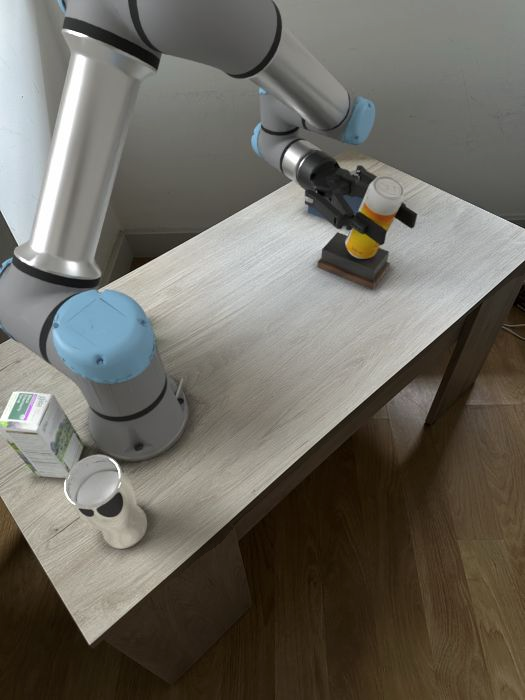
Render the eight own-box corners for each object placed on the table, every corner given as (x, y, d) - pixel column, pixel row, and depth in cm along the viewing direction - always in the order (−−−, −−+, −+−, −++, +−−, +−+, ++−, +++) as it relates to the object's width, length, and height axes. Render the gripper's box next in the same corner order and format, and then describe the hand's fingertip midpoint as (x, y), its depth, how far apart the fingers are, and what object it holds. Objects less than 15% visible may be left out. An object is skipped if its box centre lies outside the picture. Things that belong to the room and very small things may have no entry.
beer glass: (130, 492, 74) (100, 441, 62) (161, 525, 71) (135, 478, 59) (89, 527, 71) (50, 481, 60) (119, 563, 68) (84, 522, 56)
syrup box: (49, 442, 80) (10, 389, 68) (86, 445, 79) (53, 392, 68) (36, 476, 76) (-9, 427, 65) (74, 480, 76) (36, 430, 64)
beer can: (374, 264, 95) (405, 204, 82) (342, 256, 95) (369, 194, 82) (377, 241, 98) (407, 179, 86) (346, 232, 98) (372, 169, 86)
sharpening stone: (317, 267, 102) (318, 249, 98) (334, 247, 105) (336, 229, 102) (372, 290, 97) (375, 272, 94) (389, 268, 101) (392, 250, 97)
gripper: (347, 168, 105) (434, 225, 93) (270, 205, 98) (353, 271, 86) (351, 133, 99) (444, 188, 87) (269, 169, 92) (358, 234, 80)
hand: (399, 229), depth 86 cm, fingers closed on beer can, 6 cm apart
